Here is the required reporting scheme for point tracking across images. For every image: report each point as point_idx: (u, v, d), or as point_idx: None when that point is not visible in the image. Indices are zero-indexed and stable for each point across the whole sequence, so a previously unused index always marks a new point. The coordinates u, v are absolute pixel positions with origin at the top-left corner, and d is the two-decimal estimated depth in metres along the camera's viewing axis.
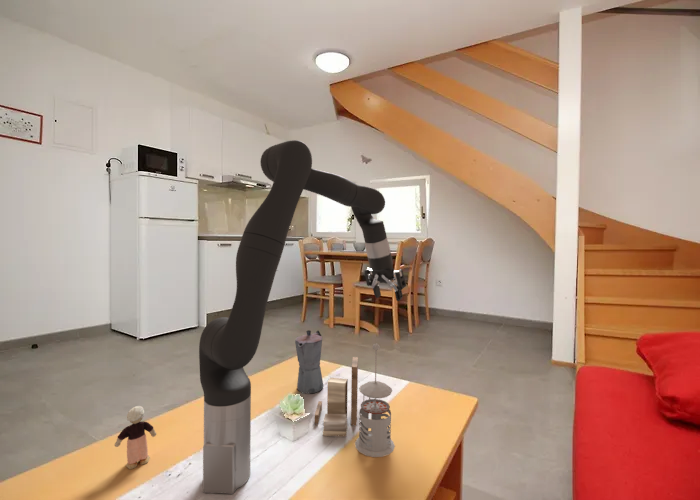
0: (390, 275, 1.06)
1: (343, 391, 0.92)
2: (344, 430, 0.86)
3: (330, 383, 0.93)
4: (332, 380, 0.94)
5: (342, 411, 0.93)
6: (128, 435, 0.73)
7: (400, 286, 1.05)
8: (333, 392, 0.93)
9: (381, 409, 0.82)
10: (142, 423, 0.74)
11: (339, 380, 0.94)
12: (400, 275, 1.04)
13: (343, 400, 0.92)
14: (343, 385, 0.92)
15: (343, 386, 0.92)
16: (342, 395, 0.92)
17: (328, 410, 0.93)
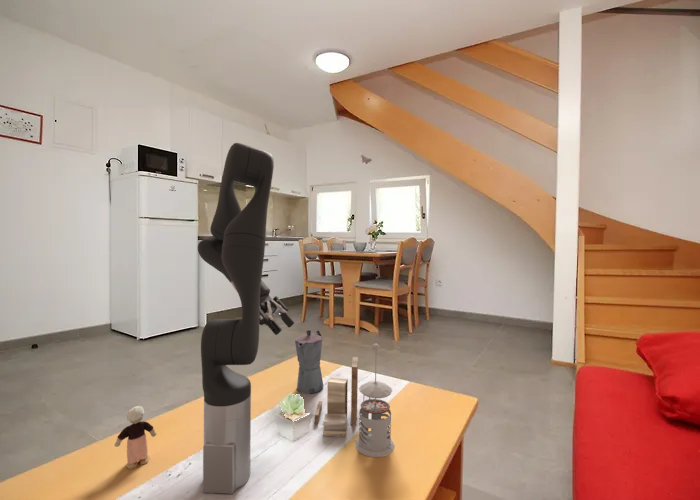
0: None
1: (343, 391, 0.92)
2: (344, 430, 0.86)
3: (330, 383, 0.93)
4: (332, 380, 0.94)
5: (342, 411, 0.93)
6: (128, 434, 0.73)
7: (285, 307, 1.04)
8: (333, 392, 0.93)
9: (381, 409, 0.82)
10: (142, 423, 0.74)
11: (339, 380, 0.94)
12: None
13: (343, 400, 0.92)
14: (343, 385, 0.92)
15: (343, 386, 0.92)
16: (342, 395, 0.92)
17: (328, 410, 0.93)
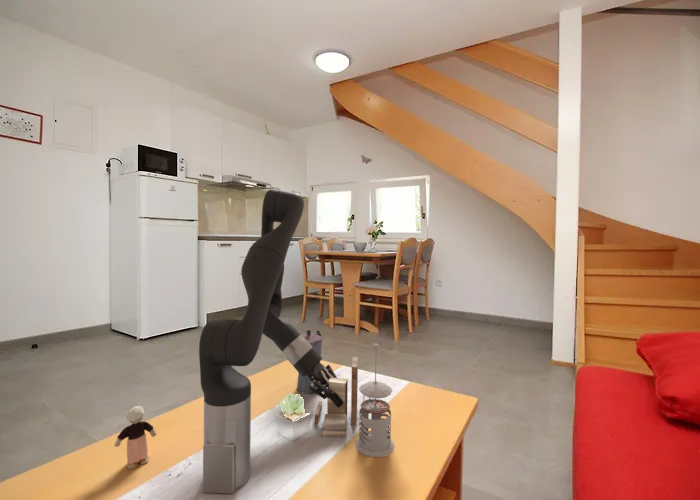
0: None
1: (343, 391, 0.92)
2: (344, 430, 0.86)
3: (330, 383, 0.93)
4: (332, 380, 0.94)
5: (342, 411, 0.93)
6: (128, 434, 0.73)
7: None
8: None
9: (380, 409, 0.82)
10: (142, 423, 0.74)
11: (339, 380, 0.94)
12: None
13: (343, 400, 0.92)
14: (343, 385, 0.92)
15: (343, 386, 0.92)
16: (342, 395, 0.92)
17: (328, 410, 0.93)
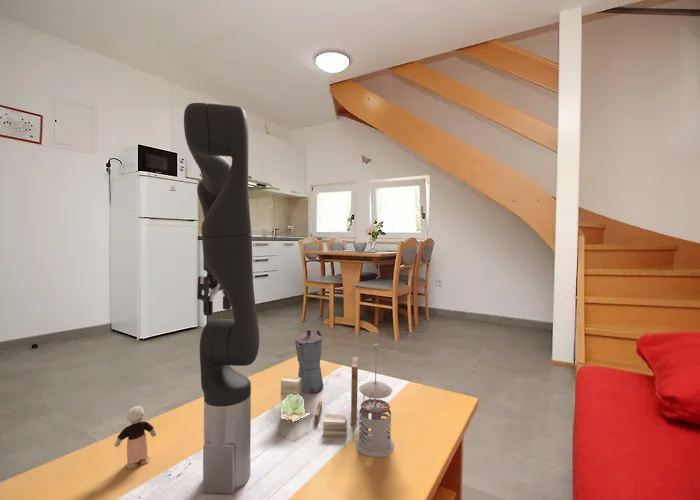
0: None
1: (296, 390, 0.93)
2: (344, 430, 0.86)
3: (283, 382, 0.94)
4: (286, 379, 0.94)
5: None
6: (128, 434, 0.73)
7: None
8: (286, 391, 0.94)
9: (381, 409, 0.82)
10: (142, 423, 0.74)
11: (292, 379, 0.95)
12: None
13: None
14: (296, 384, 0.93)
15: (296, 385, 0.93)
16: (295, 394, 0.93)
17: None
